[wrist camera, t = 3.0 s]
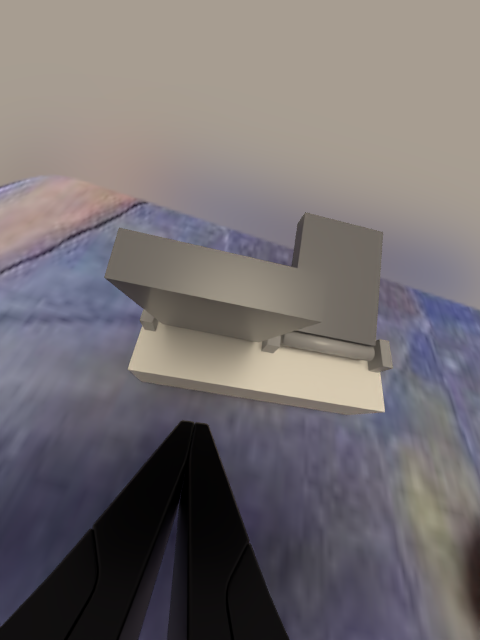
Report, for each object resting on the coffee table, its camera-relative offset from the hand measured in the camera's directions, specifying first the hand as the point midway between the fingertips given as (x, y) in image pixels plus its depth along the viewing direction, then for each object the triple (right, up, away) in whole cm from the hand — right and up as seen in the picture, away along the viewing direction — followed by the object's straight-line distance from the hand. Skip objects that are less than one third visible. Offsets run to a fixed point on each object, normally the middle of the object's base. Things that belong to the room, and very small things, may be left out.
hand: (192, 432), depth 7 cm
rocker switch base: (+2, +1, +10) cm, 10 cm away
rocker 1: (0, +3, +5) cm, 6 cm away
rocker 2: (+6, +2, +6) cm, 9 cm away
